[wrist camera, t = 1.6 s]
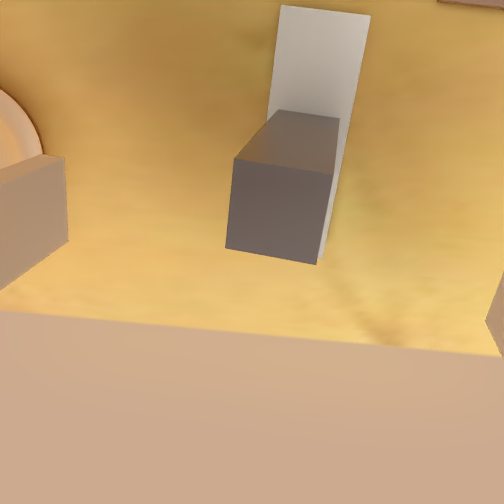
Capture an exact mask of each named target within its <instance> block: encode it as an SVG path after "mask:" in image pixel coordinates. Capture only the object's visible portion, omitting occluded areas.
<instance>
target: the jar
mask: <svg viewBox="0 0 504 504" xmlns="http://www.w3.org/2000/svg"><path fill="white" fill-rule="evenodd" d="M40 154H43V153H42V148H41V144H40V140H39V137H38V135H37V132H36V130H35V128H34V126H33V124H32V122H31V121H30V119H29V118H28V116H27V115H26V113H25V112H24V111H23V109H22V108H21V107H20V106H19V105H18V104H17V103H16V102H15V101H14V100H13V99H12V98H11V97H10V96H9V95H7V94H6V93H5V92H3V91H2V90H0V169H2V168H5V167H8V166H10V165H13V164H16V163H18V162H21V161H24V160H26V159H29V158H32V157H34V156H37V155H40Z"/></svg>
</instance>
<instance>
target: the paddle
mask: <svg viewBox="0 0 504 504" xmlns="http://www.w3.org/2000/svg"><path fill="white" fill-rule="evenodd" d="M370 19H371V16H370V15H362V14H354V13H346V12H338V11H330V10H322V9H314V8H305V7H297V6H289V5H281V9H280V17H279V25H278V33H277V41H276V49H275V57H274V65H273V73H272V81H271V89H270V97H269V105H268V113H267V121H266V123H265V125H264V126H263V127H262V128H261V129H260V130H259V131H258V132H257V134H256V135H255V136H254V137H253V138H252V139H251V140H250V141H249V142H248V144H247V145H246V146H245V147H244V148H243V149H242V150H241V151H240V153H239V154H238V155H237V156H236V157H235V158H234V165H233V175H232V185H231V195H230V205H229V215H228V225H227V235H226V245H225V248H227V249H232V250H238V251H243V252H249V253H254V254H259V255H265V256H270V257H276V258H281V259H286V260H292V261H297V262H303V263H308V264H314V265H316V263H317V258H319V259H323V254H324V249H325V244H326V239H327V234H328V229H329V224H330V219H331V214H332V209H333V204H334V199H335V194H336V189H337V184H338V179H339V174H340V169H341V164H342V159H343V154H344V149H345V144H346V139H347V134H348V129H349V124H350V119H351V114H352V109H353V104H354V99H355V94H356V89H357V84H358V79H359V74H360V69H361V64H362V59H363V54H364V49H365V44H366V39H367V34H368V29H369V24H370Z"/></svg>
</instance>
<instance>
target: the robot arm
mask: <svg viewBox="0 0 504 504" xmlns="http://www.w3.org/2000/svg"><path fill="white" fill-rule="evenodd" d="M68 241H69V240H68V220H67V201H66V181H65V161H64V158H61V157H55V156H50V155H44V154H40V155H37V156H34V157H32V158H29V159H26V160H24V161H21V162H18V163H16V164H13V165H10V166H8V167H5V168H2V169H0V290H2V289H3V288H4V287H6V286H7V285H9V284H10V283H11V282H13V281H14V280H16V279H17V278H18V277H20V276H21V275H22V274H24V273H25V272H27V271H28V270H29V269H31V268H32V267H33V266H35V265H36V264H38V263H39V262H40V261H42V260H43V259H45V258H46V257H47V256H49V255H50V254H51V253H53V252H54V251H56V250H57V249H58V248H60V247H61V246H62V245H64V244H65V243H67V242H68ZM485 322H486V324H487V326H488V328H489V330H490V332H491V335H492V337H493V339H494V341H495V343H496V345H497V347H498V349H499V351H500V353H501V355H502V358H503V360H504V273H503V275H502V278H501V281H500V283H499V286H498V288H497V291H496V294H495V296H494V299H493V301H492V304H491V307H490V309H489V312H488V314H487V317H486V320H485Z"/></svg>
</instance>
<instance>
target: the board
mask: <svg viewBox="0 0 504 504" xmlns="http://www.w3.org/2000/svg"><path fill="white" fill-rule="evenodd" d="M437 2H444V3H453V4H461V5H470V6H478V7H487V8H495V9H503V10H504V0H437Z"/></svg>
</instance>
